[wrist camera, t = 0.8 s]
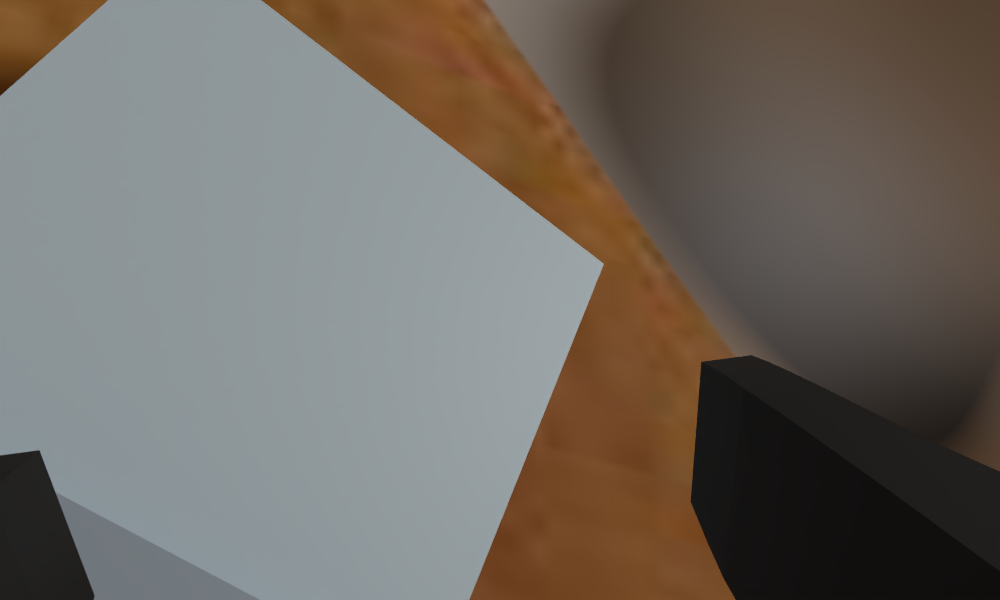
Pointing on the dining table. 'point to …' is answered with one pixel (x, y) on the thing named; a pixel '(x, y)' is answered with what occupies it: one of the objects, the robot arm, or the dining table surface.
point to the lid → (265, 315)
